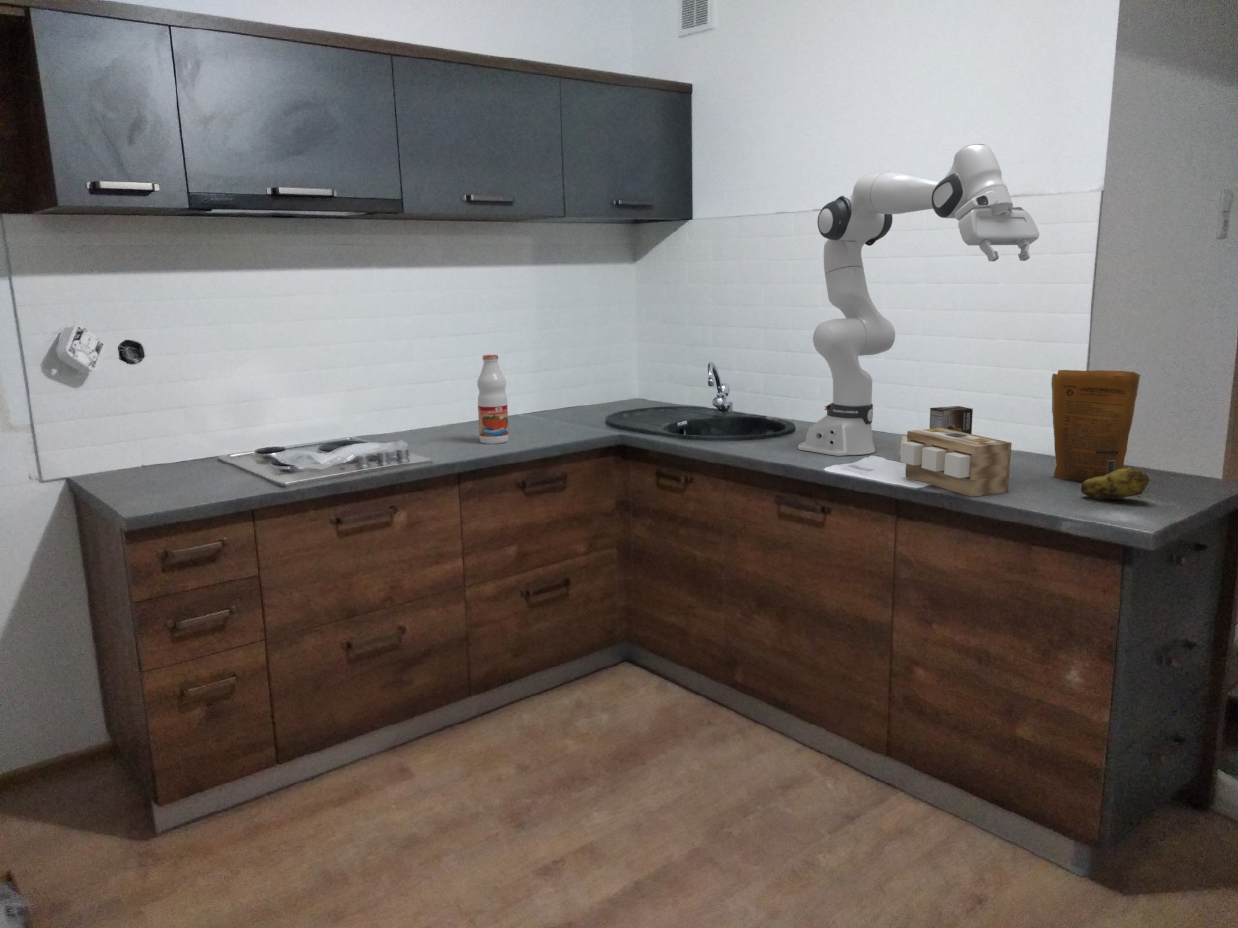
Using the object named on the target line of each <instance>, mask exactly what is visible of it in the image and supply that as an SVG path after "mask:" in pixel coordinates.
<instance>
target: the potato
mask: <svg viewBox="0 0 1238 928" xmlns="http://www.w3.org/2000/svg"><path fill="white" fill-rule="evenodd" d="M1149 482H1150V478H1149V476H1148V474H1147V473H1145V471H1142V470H1141V469H1139V468H1136V467H1124V468H1122V469H1118V470H1115V471H1113V472H1111V473H1109V474H1107V475H1104V476H1098V477H1094V478H1090V479H1088V480H1086V481H1084V482H1081V483H1082V484H1081V488H1080V492H1081V493H1082V494H1084V495H1085V496H1087V498H1091V499H1094V498H1095V499H1101V500H1121V499H1125V498H1129V497H1133V496H1139V495H1142V494H1143V492H1144V491H1145V489H1146V488H1147V486H1148V485H1149Z"/></svg>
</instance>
